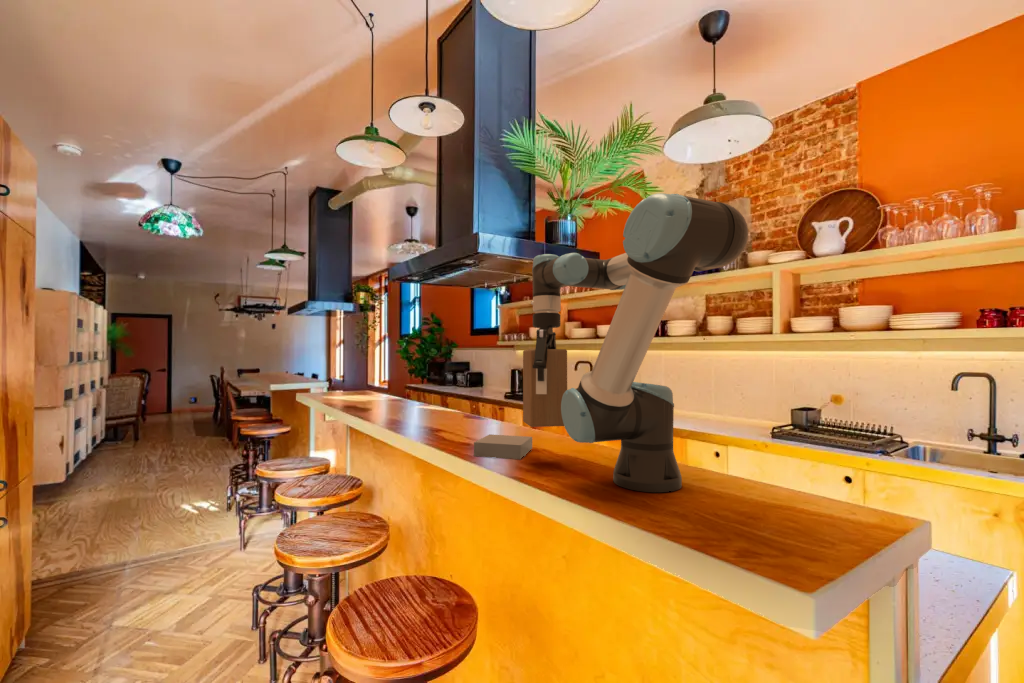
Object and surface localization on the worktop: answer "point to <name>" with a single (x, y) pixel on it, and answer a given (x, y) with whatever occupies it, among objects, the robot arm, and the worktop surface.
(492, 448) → the grey flat square block
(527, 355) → the wooden block
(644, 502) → the worktop surface
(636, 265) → the robot arm
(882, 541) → the worktop surface
